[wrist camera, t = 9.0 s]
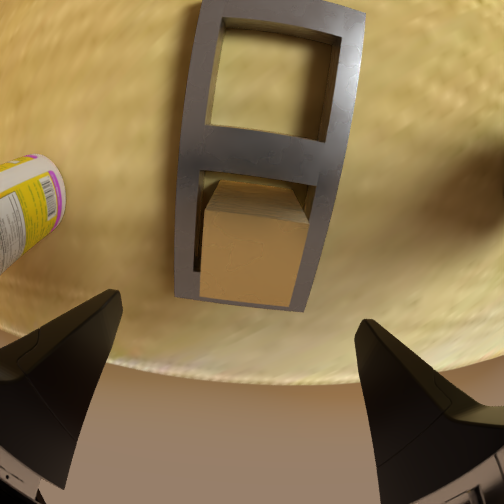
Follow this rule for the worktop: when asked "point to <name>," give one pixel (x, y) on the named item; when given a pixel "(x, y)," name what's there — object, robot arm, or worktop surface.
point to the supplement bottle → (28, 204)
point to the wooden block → (252, 243)
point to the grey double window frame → (265, 142)
